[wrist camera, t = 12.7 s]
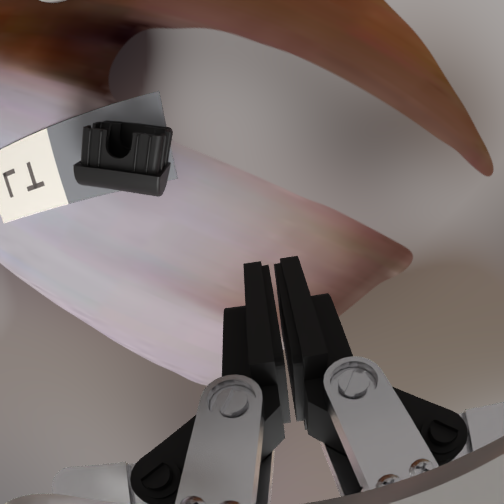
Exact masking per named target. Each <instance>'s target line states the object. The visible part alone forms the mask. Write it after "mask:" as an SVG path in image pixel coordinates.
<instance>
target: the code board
mask: <svg viewBox="0 0 504 504" xmlns="http://www.w3.org/2000/svg"><path fill="white" fill-rule="evenodd" d="M67 204H69V203H68V200H67V197H66V194H65V191H64V188H63V185H62V182H61V179H60V176H59V172H58V169H57V165H56V162H55V158H54V155H53V151H52V148H51V144H50V140H49V136H48V132H47V128H46V129H44V130H41V131H39V132H37V133H34V134H32V135H30V136H28V137H25V138H23V139H21V140H19V141H17V142H15V143H13V144H11V145H9V146H7V147H5V148H3V149H1V150H0V214H1V217H2V220H3V222H4V223H7V222H10V221H13V220H16V219H19V218H23V217H26V216H29V215H32V214H36V213H39V212H42V211H46V210H49V209H53V208H56V207H60V206H63V205H67Z"/></svg>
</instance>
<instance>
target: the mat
mask: <svg viewBox="0 0 504 504" xmlns="http://www.w3.org/2000/svg"><path fill="white" fill-rule="evenodd" d="M106 120H109V121H120V122H130V123H139V124H147V125H155V126H163V127H166V123H165V118H164V113H163V108H162V103H161V98H160V92H159V91H157V92H153V93H149V94H146V95H142V96H138V97H135V98H131V99H128V100H124V101H121V102H118V103H114V104H111V105H108V106H105V107H102V108H99V109H96V110H93V111H90V112H87V113H84V114H82V115H79V116H76V117H74V118H71V119H68V120H66V121H63V122H61V123H58V124H56V125H53V126H51V127H48V128H47V132H48V136H49V140H50V144H51V148H52V151H53V155H54V158H55V162H56V165H57V169H58V172H59V176H60V179H61V182H62V185H63V188H64V191H65V194H66V197H67V200H68V203H69V204H71V203H74V202H78V201H82V200H86V199H89V198H93V197H97V196H101V195H105V194H109V193H114V192H118V191H119V190H113V189H106V188H99V187H92V186H84V185H80V184H78V183H77V181H76V179H75V177H74V170H73V165H74V164H76V163H77V162H79V161H81V149H82V135H83V127H85V126H87V125H91V128H92V125H93V123H95V122H103V121H106ZM168 162H171V165H170V171H169V176H168V180H173V179H178V178H177V173H176V169H175V165H174V160H173V156H172V151H171V146H170V152H169V159H168ZM168 180H167V181H168Z"/></svg>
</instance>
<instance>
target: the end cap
mask: <svg viewBox="0 0 504 504" xmlns="http://www.w3.org/2000/svg"><path fill="white" fill-rule="evenodd" d="M172 133H173V131H172V129H171V128H169V127H163V126H155V125H147V124H139V123H130V122H120V121H109V120H106V121H103V122H95V123H93V125H92V128H91V125H87V126H85V127H83V135H82V149H81V161H79V162H77V163H76V164H74V165H73V170H74V177H75V179H76V181H77V183H78V184H80V185H84V186H92V187H99V188H106V189H113V190H119V191H126V192H133V193H139V194H146V195H152V196H161V195H162V194H163V192H164V190H165V187H166V184H167V180H168V176H169V171H170V165H171V162H168V159H169V152H170V146H171V140H172Z"/></svg>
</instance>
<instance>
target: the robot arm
mask: <svg viewBox="0 0 504 504" xmlns="http://www.w3.org/2000/svg"><path fill="white" fill-rule="evenodd" d="M40 1H43V2H48V3H58V2H62V1H66V0H40ZM274 269H275V277H276V285H277V294H278V303H279V311H280V320H281V329H282V336H283V342H284V348H285V353H286V360H287V365H288V371H289V377H290V384H291V389H292V396H293V402H294V409H295V415H296V420H297V421H303V420H304V425H305V430H308V434H309V435H310V436H312V437H314V438H316V439H317V440H319V441H320V443H321V447H322V450H323V452H324V455H325V457H326V460H327V462H328V465H329V468H330V470H331V473H332V475H333V478H334V480H335V483H336V485H337V488H338V491H339V493H340V496H341V497H338V498H333V499H329V500H323V501H318V502H311V503H306V504H504V402H501V403H497V404H492V405H487V406H482V407H476V408H471V409H465V411H464V412H463V413H459V414H457V413H455V412H453V411H451V410H449V409H446V408H444V407H441V406H438V405H436V404H433V403H431V402H428V401H426V400H423V399H421V398H418V397H416V396H414V395H411V394H409V393H406V392H404V391H401V390H399V389H396V388H394V387H392V386H391V384H390V383H389V381H388V379H387V378H386V376H385V375H384V373H383V371H382V370H381V369H380V367H378V365H377V364H376V363H374V362H373V361H371V360H369V359H366V358H362V357H353V355H352V352H351V349H350V347H349V344H348V341H347V339H346V336H345V333H344V330H343V328H342V325H341V322H340V320H339V317H338V314H337V312H336V309H335V307H334V304H333V301H332V299H331V297H330V295H329V294H328V293H327V294H321V295H315V296H311V295H310V292H309V289H308V286H307V283H306V280H305V277H304V273H303V270H302V267H301V264H300V261H299V258H298V256H294V257H287V258H280V263H278V264H274ZM244 283H245V303H246V306H240V307H232V308H225V309H224V321H223V357H222V377H220V378H217V379H216V380H214V381H213V382H211V383H210V384H209V385H208V386H207V387H206V388H205V389H204V391H203V393H202V396H201V399H200V402H199V406H198V410H197V414H196V415H195V416H194V417H193V418H192V419H190V420H189V421H188V422H187V423H186V424H184V425H183V426H182V427H181V428H179V429H178V430H177V431H176V432H174V433H173V434H172V435H171V436H170V437H168V438H167V439H166V440H164V441H163V442H162V443H161V444H159V445H158V446H157V447H155V448H154V449H153V450H152V451H151V452H149V453H148V454H146V455H145V456H144V457H142V458H141V459H140V460H139V461H138V462H137V463H134V464H128V463H126V462H120V463H112V464H103V465H92V466H77V467H67V468H63V469H62V470H60V471H59V472H58V473H57V474H56V476H55V477H54V479H53V484H52V494H31V495H25V496H21V497H18V498H15V499H12V500H10V501H8V502H7V503H5V504H270V500H271V489H272V478H273V465H274V453H275V452H274V449H275V448H276V447H277V446H278V445H279V444H280V443H281V441H282V440H283V439H284V438H285V435H284V425H283V423H290V422H291V420H290V410H289V402H288V401H289V400H288V390H287V382H286V372H285V363H284V355H283V349H282V343H281V336H280V330H279V324H278V318H277V312H276V306H275V300H274V294H273V288H272V282H271V276H270V270H269V265H264V266H262V265H261V261H260V262H253V263H246V264H244Z"/></svg>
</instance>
